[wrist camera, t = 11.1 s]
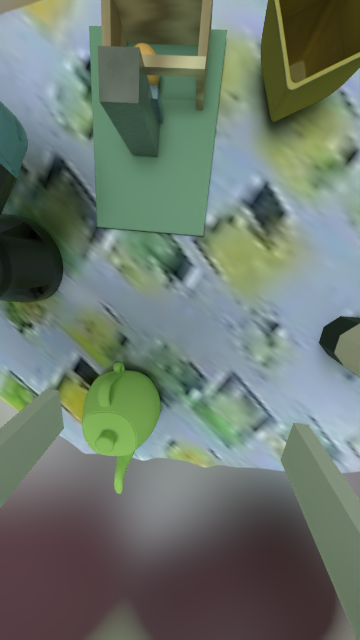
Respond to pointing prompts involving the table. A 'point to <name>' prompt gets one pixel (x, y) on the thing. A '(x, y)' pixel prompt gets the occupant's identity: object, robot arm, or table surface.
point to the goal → (163, 34)
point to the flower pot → (308, 51)
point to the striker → (130, 98)
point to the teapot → (120, 415)
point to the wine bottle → (343, 342)
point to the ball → (148, 50)
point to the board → (159, 151)
